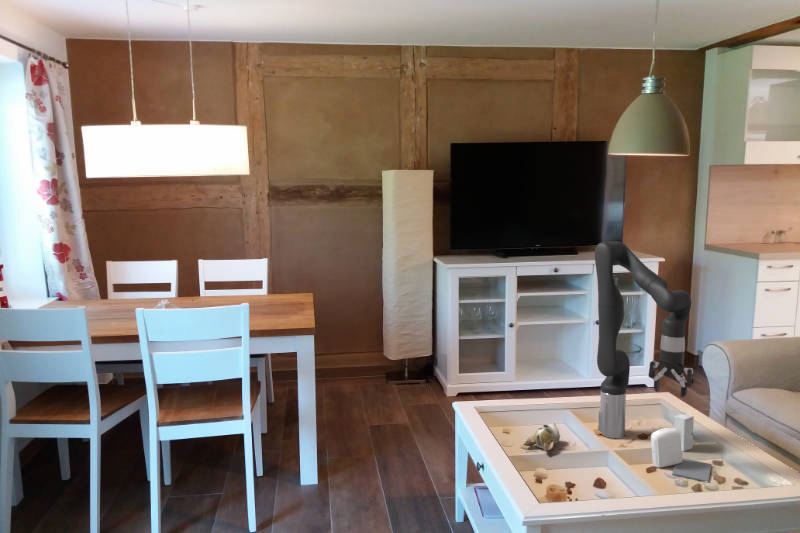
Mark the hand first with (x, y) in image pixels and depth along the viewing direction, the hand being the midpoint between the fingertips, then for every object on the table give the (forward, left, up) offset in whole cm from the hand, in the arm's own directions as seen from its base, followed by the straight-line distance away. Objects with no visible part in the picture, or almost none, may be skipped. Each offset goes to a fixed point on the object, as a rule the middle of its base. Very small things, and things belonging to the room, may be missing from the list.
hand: (669, 393), depth 201 cm
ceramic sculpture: (-41, -11, -24) cm, 48 cm away
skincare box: (+3, +14, -24) cm, 28 cm away
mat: (+8, -4, -24) cm, 26 cm away
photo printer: (+1, -4, -24) cm, 24 cm away
